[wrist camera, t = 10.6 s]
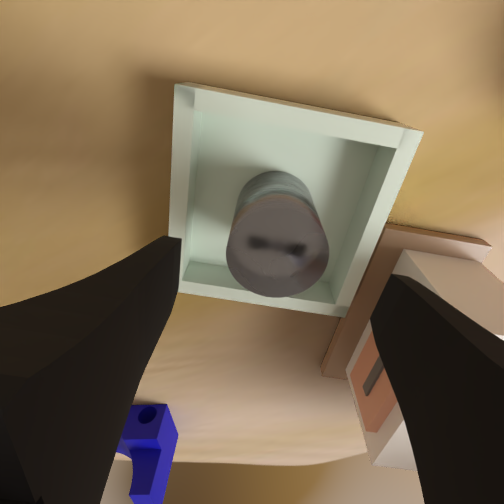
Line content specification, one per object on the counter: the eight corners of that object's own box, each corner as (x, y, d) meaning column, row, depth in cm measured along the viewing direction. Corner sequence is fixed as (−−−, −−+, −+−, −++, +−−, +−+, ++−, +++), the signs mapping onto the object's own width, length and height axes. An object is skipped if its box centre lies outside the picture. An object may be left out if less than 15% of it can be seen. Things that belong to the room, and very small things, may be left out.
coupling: (322, 178, 16) (343, 218, 11) (301, 247, 18) (313, 304, 13) (243, 164, 15) (233, 199, 11) (231, 235, 17) (219, 289, 13)
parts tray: (400, 123, 15) (424, 131, 12) (336, 290, 20) (344, 317, 18) (188, 81, 14) (174, 83, 12) (177, 265, 19) (166, 290, 17)
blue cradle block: (167, 402, 26) (143, 484, 21) (178, 433, 29) (159, 513, 23) (33, 406, 27) (-22, 485, 22) (54, 435, 29) (9, 514, 24)
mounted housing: (483, 239, 18) (599, 328, 12) (397, 378, 24) (444, 484, 18) (381, 221, 17) (444, 304, 11) (320, 367, 23) (340, 471, 17)
